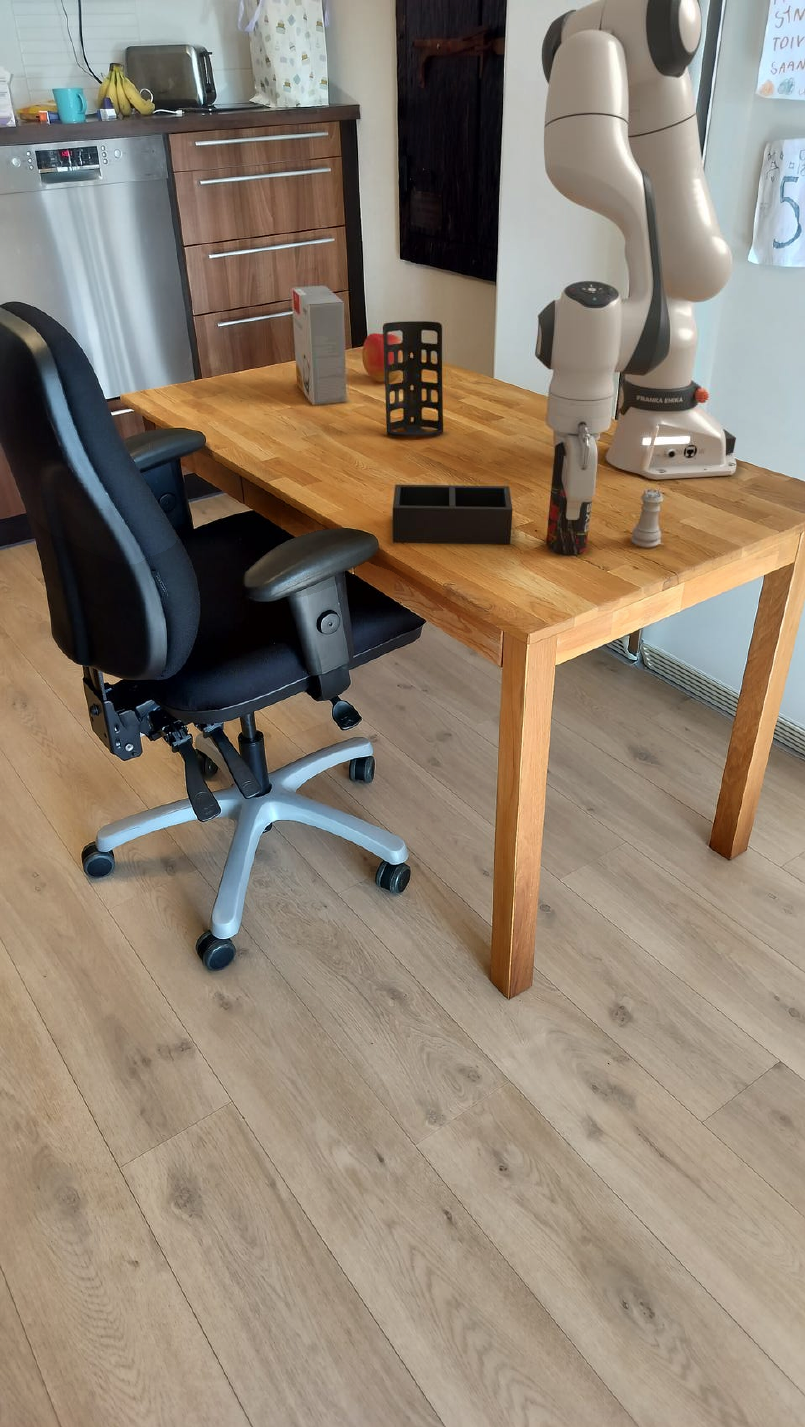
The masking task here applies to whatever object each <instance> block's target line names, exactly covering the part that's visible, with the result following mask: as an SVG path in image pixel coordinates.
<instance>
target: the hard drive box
mask: <svg viewBox="0 0 805 1427" xmlns="http://www.w3.org/2000/svg"><path fill="white" fill-rule="evenodd" d="M290 289H291V292H290V293H291V305H292V308H291V309H292V322H293V323H292V325H293V340H294V341H293V342H294V358H295V359H294V360H295V374H296V385H297V386H298V387H299V389H300V390H301V391H302V393H303V394H304V395H305V397H306V398H307V400H308V401H309V402H310V404H311V405H312V406H319V405H328V404H329V405H330V404H338V403H339V404H340V403H347V401H348V400H347V399H348V398H347V396H348V394H347V366H346V364H347V363H346V362H347V360H346V332H345V330H346V329H345V328H346V327H345V302H344V301H343V300H342V299H340V297H339V296H337V295H336V293H334V292H333V291H332V290H330V288H329V287H327V286H326V285H310V286H295V287H294V286H293V287H290Z"/></svg>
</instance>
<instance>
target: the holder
mask: <svg viewBox="0 0 805 1427" xmlns="http://www.w3.org/2000/svg"><path fill="white" fill-rule="evenodd" d="M423 331H429V332H435V333H436V343H431V342H423V340H422V339H423V337H422V336H423V335H422V334H423ZM390 332H392V333H393V332H401V333H402V334H401V336H402V339H401V341H402V343H398V344H391V345H389V344H388V338H387V334H389V333H390ZM382 334H383V345H384V371H385V382H384V392H385V396H384V397H385V421H386V425H385V426H386V436H387V437H390V438H431V437H438V436H441V435H443V433H444V400H443V396H444V395H443V325H442V323H441V322H440V321H439V322H438V321H428V320H427V321H426V320H425V321H424V320H423V321H422V320H419V321H418V320H416V321H414V320H412V321H410V320H409V321H407V320H405V321H391V322H385V323H383V325H382ZM400 350H401V351H402V354H403V362H402V363H400V362H398V352H399V351H400ZM423 351H425V362H424V361H423V360H422V358H423V355H422V354H423ZM389 352H393V353H394V363H393V364H391V365H390V364H389V363H388V354H389ZM432 352H435V353H436V363H433V362H432ZM411 355H412V357H411ZM398 370H400V371H402V381H401V382H395V383H390V382H389V373H390V372H393V371H398ZM425 370H426V371H431V372H436V382H430V381H423V371H425ZM412 387H413V388H412ZM411 388H412V389H411ZM400 390H402V401H401V400H400ZM423 390H425V400H423ZM432 391H436V394H437V396H436V397H437V401H433V400H432ZM392 392H394V401H393V402H392V403H391V393H392ZM424 408H425V409H432V410H436V411H437V420H434V419H424V418H423V409H424ZM400 409H401V410H402V419H401V420H395V421H391V420H392V419H391V413H392V412H393V411H396V410H400ZM412 418H413V420H412ZM423 428H430V429H432V430H428V431H427V430H424V429H423ZM398 429H404V430H405V431H395V430H398ZM433 429H434V430H433Z"/></svg>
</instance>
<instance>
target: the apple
mask: <svg viewBox="0 0 805 1427" xmlns="http://www.w3.org/2000/svg"><path fill="white" fill-rule="evenodd" d="M387 338H388V344H389V345H391V344H398V343H402V339H401V338H400V337H399V336H397V335H395V334H392V333H388V334H387ZM361 354H362V356H361V358H362V359H361V360H362V365H363V367H364V369H365V371H366V373H367V375H369V376H370V377H371V378H372V379H373V380H375V381H376V382H378V383H381V384H382V383H384V384H385V371H384V345H383V333H375V332H374V333H369V334H368V336H366V338H365V340H364V343H363V345H362V353H361ZM398 362H400V363H402V362H403V354H402V351H401V350H400V351H399V352H398ZM388 363H389V364H390V365H391V364H393V363H394V353H393V352H389V354H388ZM402 374H403V372H402V371H400V370H398V371H393V372H390V373H389V383H391V382H394V381H396V380H397V379H398V378H399V377H400V376H401V375H402Z"/></svg>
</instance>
